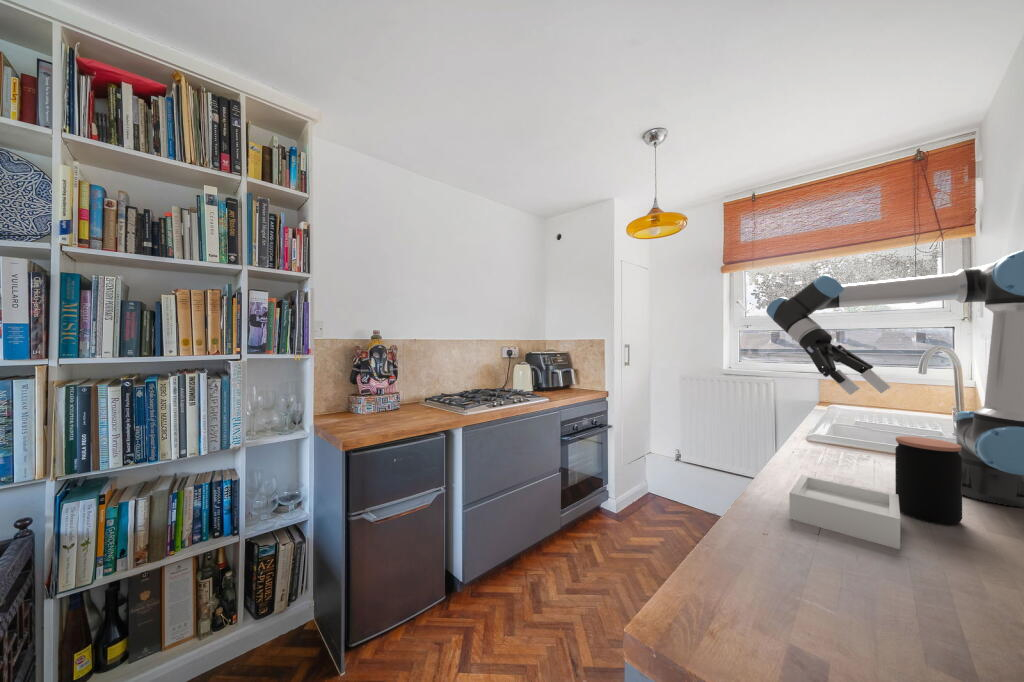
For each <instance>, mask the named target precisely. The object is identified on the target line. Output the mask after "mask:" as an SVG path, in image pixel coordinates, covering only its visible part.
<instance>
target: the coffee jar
mask: <svg viewBox="0 0 1024 682" xmlns="http://www.w3.org/2000/svg"><path fill="white" fill-rule="evenodd" d="M895 442H897V445H896V446H895V448H894V449H895V450H894V451H895V455H894V456H895V494H898V497H899V509H900V513H902V514H904V515H905V516H908V517H910V518H914V519H916V520H919V521H923V522H926V523H931V524H936V525H939V526H940V525H943V526H956V525H958V524H959V523H961V522H962V521H963V495H962V457H961V456H960V455H959V451H961V450H962V446H960V445H958V444H956V443H955V442H951V441H947V440H941V439H935V438H927V437H921V436H919V437H918V436H907V435H906V436H904V435H901V436H896V437H895Z"/></svg>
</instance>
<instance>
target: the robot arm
mask: <svg viewBox="0 0 1024 682" xmlns="http://www.w3.org/2000/svg"><path fill="white" fill-rule="evenodd" d="M937 301H938V302H940V301H956V302H958V303H962V304H963V303H981V302H982V303H984V308H986V309H988V310H989V311H990V312H992V314H993V315H992V327H991V335H990V344H989V345H990V347H989V357H988V365H987V376H986V386H985V395H984V405H983V406H982V407H980V408H978V409H976V410H974V411H973V410H972V411H971V410H963V411H962V410H961V411H959V412H957V414H956V419H955V421H954V422H955V424H956V428H955V429H956V430H955V431H956V432H955V433H956V434H955V435H956V440H955V441H956V443H955V444H958V445H960V446H962V450H961V451H959V455H960V456H961V457H962V496H963V495H965V496H964V497H966V496H967V497H966V498H970V497H971V498H970V499H973V498H974V500H977V499H979V500H978V501H981V500H983V501H982V502H985V501H988V502H987V503H990V502H994V503H993V504H995V503H999V504H998V505H1000V504H1006V505H1011V506H1010V507H1014V506H1018V507H1017V508H1024V249H1022V250H1021V249H1020V250H1018V251H1014V252H1011V253H1008V254H1006V255H1004V256H1003V257H1001V258H1000V259H998V260H996V261H995V262H991V263H987V264H984V265H980V266H975V267H968V268H959V269H958V270H956V272H954V273H945V274H944V273H943V274H938V275H937V274H936V275H934V274H933V275H925V276H916V277H904V278H895V279H886V280H876V281H866V282H857V283H855V282H854V283H848V284H847V283H846V284H841V283H840V282H839V281H838V280H837V279H835V278H834V277H833V276H831V275H829V274H827V273H826V274H825V273H824V274H822V275H820V276H818V277H817V278H816V279H814V280H812V282H811V283H809V284H808V285H806V286H805V287H804V288H802V289H801V290H800V291H798V292H797V293H796V294H795V295H793V296H792V297H789V298H787V297H785V296H781V297H778V298H777V299H774V300H772V301H771V302H770V303H769V304H768V305H767V307H766V310H765V311H766V314H767V315H768V316H769V318H771V319H772V320H773V322H774V323H775V324H776V325H777V326H778V327H780V329H782V330H783V331H784V332H785V333H786V334H788V336H790V338H791V340H792V341H795V342H796V343H797V344H798V345H799V346H800V347H801V348H802V349H803V350H804V351H805V353H807V355H808V356H809V357H810V359H811V360H812V362H813V364H814V366H815V367H816V369H817V370H818V372H819V373H820V374H821V375H823V377H825V378H828V377H830V378H831V379H833V381H835V382H836V384H838V385H839V386H840V387H841V389H843V390H844V391H845V392H846V393H847V394H848V395H850V396H851V395H853V394H854V393H855V392H857V391H859V389H861V388H860V387H859V386H858V385H857V384H856V383H855V382H854V381H853V380H852V379H851V378H850V377H848V376H847V375H846V374H845V372H843V371H842V370H841V369H839V368H838V369H837V367H836V364H835V363H840V364H843V366H846V367H848V368H850V369H851V370H854V371H856V372H858V373H859V374H860V376H861V377H862V378H863V379H864V380H865V381H866V382H867V383H869V384H870V385H871V387H873V388H874V389H875V390H876V391H877V392H879V393H880V394H883V393H884V392H885V391H887V390H889V389H890V388H892V387H891V385H890V384H888V382H886V381H885V380H884V379H882V378H881V377H880V376H879V375H878V374H877V373H876V372H875V371H873V370H872V369H874V365H872V364H870V363H868V362H867V361H865V360H864V359H862V358H861V357H859V356H858V355H855V354H854V353H852V352H851V351H849V350H848V349H846V348H845V347H843V346H842V345H840V344H838V345H837V346H836V345H834V344H832V340H833V336H832V335H831V334H830V333H828V332H827V331H826V330H825V329H824V328H822V326H821V325H819V324H818V323H817V322H816V321H815V320H813V319H812V318H811V317H810V315H812V314H813V313H815V312H817V311H822V310H826V309H837V308H838V309H839V308H851V307H866V306H869V307H870V306H881V305H882V306H883V305H894V304H895V305H898V304H909V303H925V302H927V303H928V302H937ZM1006 505H1005V506H1006Z"/></svg>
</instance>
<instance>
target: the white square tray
mask: <svg viewBox="0 0 1024 682" xmlns="http://www.w3.org/2000/svg"><path fill="white" fill-rule="evenodd" d="M788 497H789V498H788V499H789V502H788V504H789V509H788V510H789V511H788V512H789V514H788V515H789V520H792V519H793V521H796V522H800V523H803V524H807V525H811V526H814V527H818V528H822V529H824V530H825V529H826V530H827V531H828V530H829V531H832V532H835V533H839V534H843V535H846V536H848V537H849V536H850V537H854V538H856V539H860V540H863V541H868V542H871V543H875V544H879V545H883V546H885V547H889V548H893V549H897V550H901V511H900V509H899V497H898V494H896V493H893V492H887V491H883V490H878V489H874V488H868V487H865V486H859V485H854V484H850V483H849V484H848V483H844V482H840V481H834V480H829V479H825V478H819V477H816V476H811V475H805V474H801V475H800V477H798V480H797V481H796V482H795V484H794V486H793V487H792V488H791V490H790V492H789V496H788Z"/></svg>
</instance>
